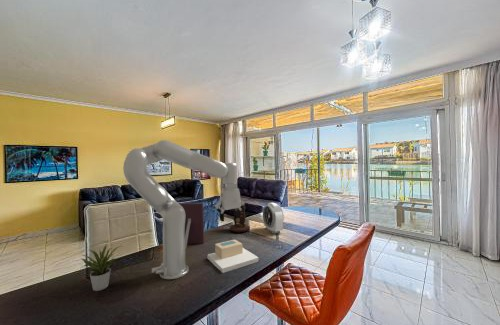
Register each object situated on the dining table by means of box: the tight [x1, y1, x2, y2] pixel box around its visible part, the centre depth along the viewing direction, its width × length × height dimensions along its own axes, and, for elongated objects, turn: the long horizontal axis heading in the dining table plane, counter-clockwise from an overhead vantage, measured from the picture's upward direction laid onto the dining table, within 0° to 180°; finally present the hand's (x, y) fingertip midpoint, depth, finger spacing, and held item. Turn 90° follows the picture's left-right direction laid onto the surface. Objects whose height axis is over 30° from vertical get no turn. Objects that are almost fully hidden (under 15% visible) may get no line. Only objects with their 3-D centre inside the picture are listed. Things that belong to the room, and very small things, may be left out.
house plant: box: [81, 244, 122, 292], centre depth 90 cm, size 14×14×16 cm
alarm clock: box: [262, 202, 285, 235], centre depth 157 cm, size 18×8×20 cm, turn 25°
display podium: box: [207, 247, 260, 274], centre depth 112 cm, size 20×18×2 cm
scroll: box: [229, 204, 251, 234], centre depth 159 cm, size 15×15×20 cm
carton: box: [214, 239, 244, 259], centre depth 115 cm, size 12×8×5 cm, turn 123°
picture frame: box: [177, 202, 205, 250], centre depth 131 cm, size 17×10×25 cm, turn 84°
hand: (230, 219), depth 113 cm, fingers open, 9 cm apart
